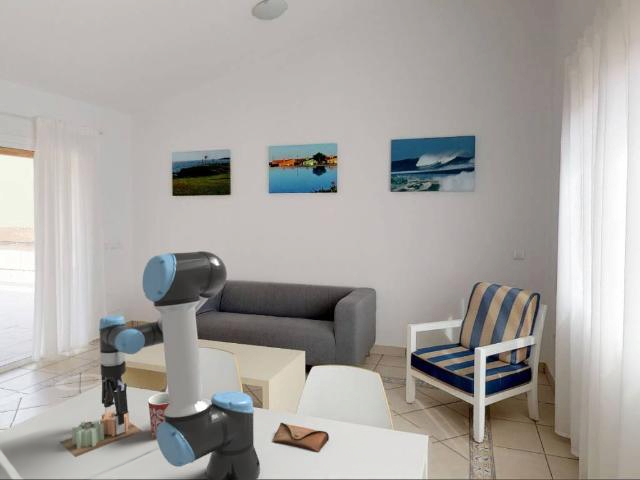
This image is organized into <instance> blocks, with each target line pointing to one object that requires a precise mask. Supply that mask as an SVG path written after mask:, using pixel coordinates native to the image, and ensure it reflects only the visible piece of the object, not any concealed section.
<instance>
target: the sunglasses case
mask: <svg viewBox="0 0 640 480" xmlns="http://www.w3.org/2000/svg"><path fill="white" fill-rule="evenodd" d="M329 439H330V436H329V433H328V432H327V431H324V430H317V429H312V428H309V427H308V428H307V427H303V426H298V425H293V424H287V423H284V422H280V423H279V426H278V428H277V431H276V433H275V434H274V437H273V439H272V441H271V443H275V444H282V445H288V446H291V447H297V448H301V449H305V450H309V451H313V452H316V453H320V452H321V450H322V449H323V448H324V447H325V445H326V444H327V443H328V442H329Z"/></svg>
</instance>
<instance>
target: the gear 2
mask: <svg viewBox="0 0 640 480" xmlns="http://www.w3.org/2000/svg"><path fill="white" fill-rule="evenodd" d="M129 412H130V411H129V410H128V413H126V414H124V420H125V432H127V431H128V426H129V422H130V419H129V414H130V413H129ZM113 413H116V409H114V412H110V413H108V414H105V413H103V414H101V419H99V424H103V423H104V434H108V435H111V434H112V436H115V434H116V429H115V418H111V414H113Z"/></svg>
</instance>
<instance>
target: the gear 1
mask: <svg viewBox="0 0 640 480" xmlns="http://www.w3.org/2000/svg"><path fill="white" fill-rule="evenodd" d="M86 422H87V421H81V422H80V424H78V426H76V427H75V426H74V427H72V429H71V436H72V437H71V438H72V444H77V449H80V448H82V447H83V446H85V447H87V446H90V445H91V446H92V447H94V446H96V443H98V441H99V440H104V423H103V424H100V419H95V420H94V421H92V420H91V421H90V420H89V422H91V423H92V427H91V428H89V429H85V426H84V424H85V423H86Z"/></svg>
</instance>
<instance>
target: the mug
mask: <svg viewBox="0 0 640 480" xmlns="http://www.w3.org/2000/svg"><path fill="white" fill-rule="evenodd" d="M147 402H148V410H149V422H150V431H151V432H150V434H151V437H152V438H154V439H157V436H156V431H157V427H158V426H159V424H161V423H162V422H165V418H164V411H165V410H166V408H167V407H168V406H169V394H168V392H160V393H157V394H154V395H152V396H150V397H149V398H148V399H147Z"/></svg>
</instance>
